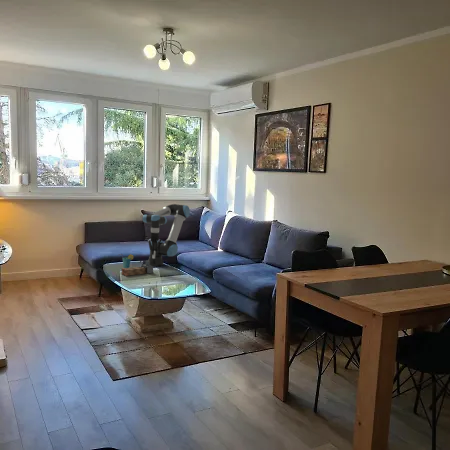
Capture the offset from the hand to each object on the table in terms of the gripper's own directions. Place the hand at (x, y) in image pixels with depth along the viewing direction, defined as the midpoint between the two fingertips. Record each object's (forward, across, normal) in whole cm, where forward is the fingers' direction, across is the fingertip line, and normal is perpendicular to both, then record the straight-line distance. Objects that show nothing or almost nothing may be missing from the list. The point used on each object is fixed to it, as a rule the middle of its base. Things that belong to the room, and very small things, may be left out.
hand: (153, 258), depth 395 cm
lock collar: (+12, +6, 0) cm, 13 cm away
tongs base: (+13, +17, -1) cm, 21 cm away
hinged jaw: (+12, +20, +2) cm, 23 cm away
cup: (+13, +19, -17) cm, 28 cm away
